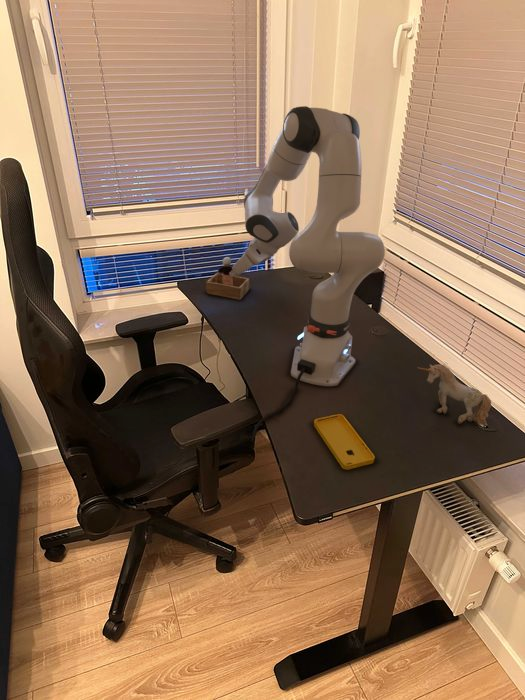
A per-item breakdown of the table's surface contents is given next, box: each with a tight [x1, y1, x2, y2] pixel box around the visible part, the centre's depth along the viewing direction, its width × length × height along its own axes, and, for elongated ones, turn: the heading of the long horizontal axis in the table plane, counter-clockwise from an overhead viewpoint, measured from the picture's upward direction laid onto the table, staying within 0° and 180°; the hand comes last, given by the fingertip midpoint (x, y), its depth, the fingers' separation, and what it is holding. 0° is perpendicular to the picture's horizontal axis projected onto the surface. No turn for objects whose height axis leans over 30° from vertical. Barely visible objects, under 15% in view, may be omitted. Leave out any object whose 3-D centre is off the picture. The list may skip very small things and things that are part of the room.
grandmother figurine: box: [216, 256, 238, 286], centre depth 187 cm, size 8×4×13 cm, turn 93°
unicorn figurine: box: [417, 363, 492, 427], centre depth 128 cm, size 7×20×13 cm, turn 63°
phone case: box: [313, 413, 376, 471], centre depth 120 cm, size 8×17×1 cm, turn 20°
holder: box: [205, 272, 251, 300], centre depth 189 cm, size 10×14×5 cm
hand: (235, 269), depth 184 cm, fingers open, 8 cm apart
